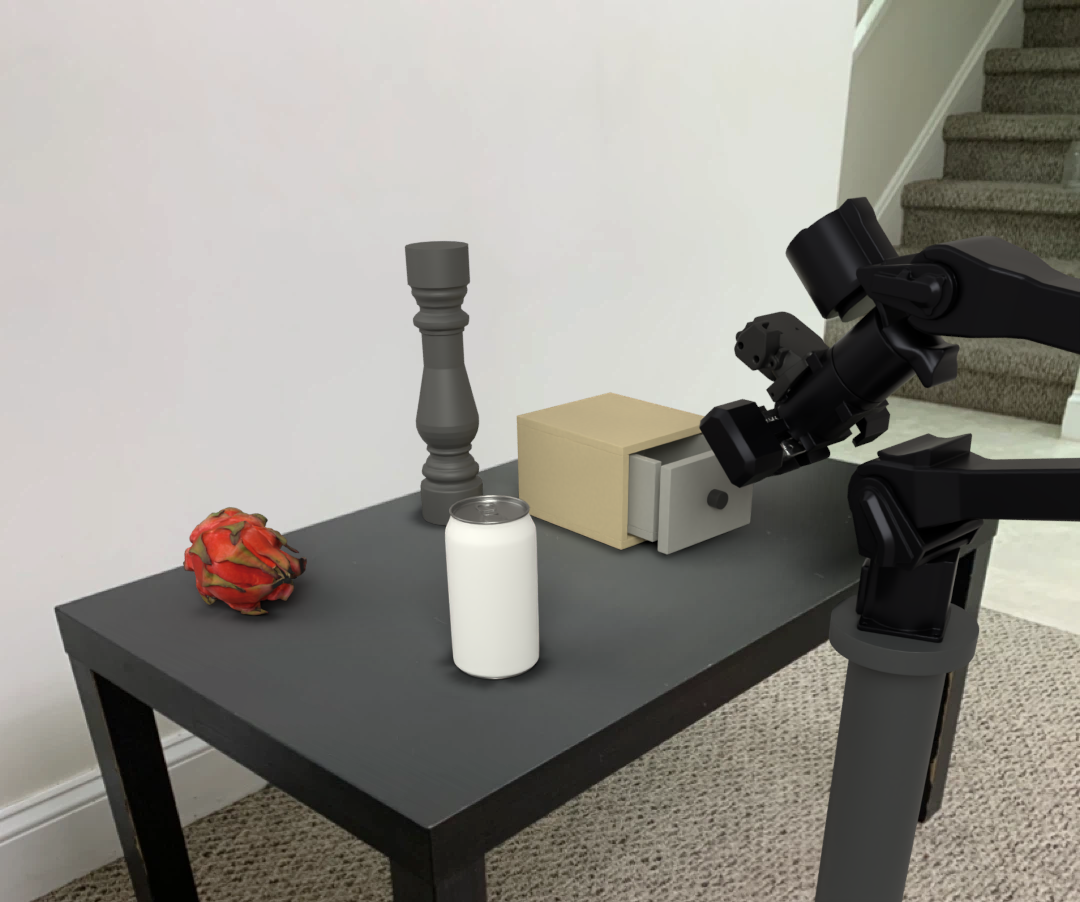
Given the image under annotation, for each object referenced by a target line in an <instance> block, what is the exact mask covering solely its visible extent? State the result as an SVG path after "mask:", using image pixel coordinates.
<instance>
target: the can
mask: <svg viewBox="0 0 1080 902" xmlns="http://www.w3.org/2000/svg"><path fill="white" fill-rule="evenodd" d="M529 510H530V506H529V504H528V503H527V502H525V501H523V500H521V499H519V497H515V496H510V495H503V494H485V495H484V494H483V496H475V497H470V498H466V499H463V500H460V501H458V502H456V503H454V504H453V505H452V506H451V507H450V509H449V513H450V515H451V516H450V519H449V521H448V524H447V526H446V525H445V526H446V527H445V530H444V541H445V542H444V544H445V558H446V559H445V560H446V575H447V577H446V578H447V590H448V606H449V618H450V634H451V647H452V657H453V662H454V664H455V665H456V667H457V668H458V669H460V670H461V671H462V672H463V673H464V674H466V675H467V676H470V677H473V678H477V679H481V680H490V681H491V680H493V681H496V680H506V679H510V678H511V679H512V678H516V677H518V676H521V675H523V674H526V673H527V672H528V671H531V669H532V668H533V667H534V666H535V664H537V662H538V661H539V658H540V625H539V624H540V623H539V618H540V617H539V578H538V574H539V571H538V542H537V540H538V539H537V527H536V523H535V522H534V520H533V519H532V515H530V514H529Z"/></svg>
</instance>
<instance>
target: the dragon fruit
mask: <svg viewBox="0 0 1080 902" xmlns="http://www.w3.org/2000/svg"><path fill="white" fill-rule="evenodd" d="M268 521H269V519H268V518H267V517H266V516H265V515H263V514H262V513H258V512H257V513H256V512H255V513H248V512H244V511H243V510H241V509H240V508H237V507H234V506H233V507H232V506H231V507H230V506H228V507H225V508H222V509H220V510H219V511H217V512H211V513H209V514H208V515H207V516H206V518H205V519H203V520H202V521H201V522H199V523H198V524H197V525H196V526H195V527H194V528H193V530H192V531H191V532H190V535H189V537H188V539H189V542H190V543H191V546H190V547H187V548H185V550H184V554H183V556H184V559H183V560H184V561H183V562H182V566H183V570H184V571H185V572H192V573H193V572H194V576H195V587H196V589H197V592H198V594H199V595H200V597H201V598H202V600H203V601H204V603H206V604H207V605H209V606H211V605H213V604H214V603H216V602H217V601H218V600H220V601H222V602H224V603H225V604H227V605H228V606H229V607H230V608H231V609H233V610H235V611H239V612H240V614H242V615H249V616H259V615H265V614H269V613H270V612H269V611H268V610H264V609H263V608H262V607H261V601H266V600H268V601H277V600H279V599H280V600H282V601H285V602H286V601H287V600H289V597H290V596H291V594H293V592H294V591H295V584H294V581H293V580H295V579H297V578H299V577H300V576H302V575H303V574H304V573H305V572H306V570H307V565H308V560H307V557H306V556H300V558H299V557H295V556H293V555H291V554H289V553H287V552H285V551H283V550H282V547H285V548H286V549H287V550H288V551H291V552H292V553H293V554H300V551H298V549H296V548H293V547H291V546H290V545H289V544H288V539H287V537H285V536H284V535H282V534H281V532H280V531H278V530H275V529H273V528H272V527H266V526H267V523H268Z"/></svg>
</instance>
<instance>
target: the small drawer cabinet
mask: <svg viewBox="0 0 1080 902" xmlns="http://www.w3.org/2000/svg"><path fill="white" fill-rule="evenodd" d="M704 416H705V415H701V414H697V413H694V412H690V411H686V410H682V409H677V408H673V407H671V406H666V405H662V404H658V403H655V402H650V401H646V400H642V399H638V398H634V397H630V396H626V395H622V394H618V393H615V392H611V391H610V392H606V393H602V394H598V395H593V396H590V397H586V398H581V399H578V400H573V401H569V402H566V403H561V404H559V405H554V406H550V407H546V408H542V409H537V410H534V411H530V412H526V413H522V414H518V415H516V441H517V442H516V443H517V472H518V474H517V475H518V477H517V478H518V498H519V499H521V500H523V501H525V502H527V503H528V504H529V506H530V510H529V514H530V516H531V517H535V518H538V519H539V520H543V521H545V522H547V523H550V524H553V525H556V526H558V527H559V528H560V527H561V528H563V529H565V530H568V531H571V532H573V533H576V534H578V535H581V536H583V537H586V538H588V539H591V540H594V541H597V542H599V543H602V544H605V545H607V546H610V547H612V548H615V549H618V550H619V551H620V550H625V549H627V548H630V547H633V546H636V545H639V544H641V543H644V542H647V541H648V540H646V539H643V538H641V537H638V536H635V535H632V534H630V533H627V524H628V479H629V454H632V453H635V452H638V451H642V450H645V449H648V448H652V447H655V446H658V445H662V444H665V443H669V442H672V441H675V440H679V439H682V438H685V437H689V436H692V435H695V434H699V433H702V432H701V430H700V428H699V426H700V420H701V419H702V418H703V417H704Z"/></svg>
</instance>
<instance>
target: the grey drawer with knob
mask: <svg viewBox="0 0 1080 902" xmlns="http://www.w3.org/2000/svg"><path fill="white" fill-rule="evenodd" d="M753 492H754V483H753V484H750V485H747V486H744V487H741V488H739V487H737V486H735V485H733V484H731V482H730V480H729V479H728V477H727V475H726V473H725V472H724V470H723V468H722V467H721V465H720V463H719V461H718V460H717V458H716V456H715V454H714V453H713V451H712V449H711V448H710V446H709V444H708V442H707V441H706V439H705V437H704V435H703V434H702V433H699V434H695V435H692V436H689V437H685V438H682V439H679V440H675V441H672V442H669V443H665V444H662V445H658V446H655V447H652V448H648V449H645V450H642V451H638V452H635V453H632V454H629V479H628V524H627V533H630V534H632V535H635V536H638V537H641V538H643V539H646V540H647V541H649V542H652V543H653V542H656V541H657V552H659V553H661V554H664V555H670V554H673V553H675V552H677V551H678V552H679V551H681V550H684V549H685V548H688V547H691V546H694V545H697V544H699V543H701V542H704V541H706V540H709V539H712V538H714V537H717V536H720V535H722V534H725V533H727V532H731V531H733V530H736V529H738V528H741V527H744V526H746V525H749V524H751V516H752V505H753Z"/></svg>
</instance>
